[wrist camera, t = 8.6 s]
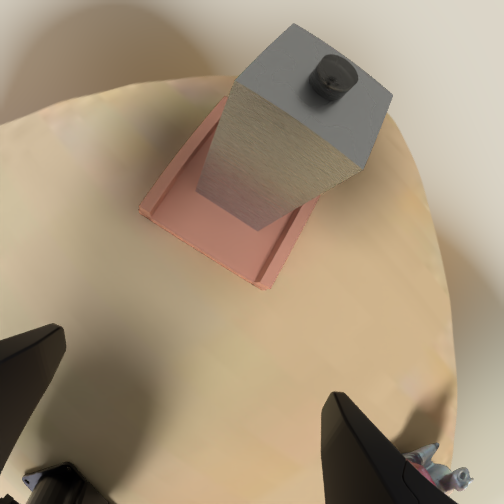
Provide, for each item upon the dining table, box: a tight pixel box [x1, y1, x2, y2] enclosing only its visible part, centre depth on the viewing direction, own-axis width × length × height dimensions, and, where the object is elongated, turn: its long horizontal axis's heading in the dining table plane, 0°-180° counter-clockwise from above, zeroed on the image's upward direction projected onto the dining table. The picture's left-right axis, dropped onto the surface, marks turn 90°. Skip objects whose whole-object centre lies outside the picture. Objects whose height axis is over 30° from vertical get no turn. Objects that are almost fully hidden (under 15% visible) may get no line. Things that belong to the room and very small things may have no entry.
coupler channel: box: [139, 96, 321, 290], centre depth 20 cm, size 10×10×2 cm
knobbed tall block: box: [196, 24, 393, 231], centre depth 15 cm, size 4×5×13 cm
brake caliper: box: [402, 443, 473, 496], centre depth 20 cm, size 11×11×12 cm
